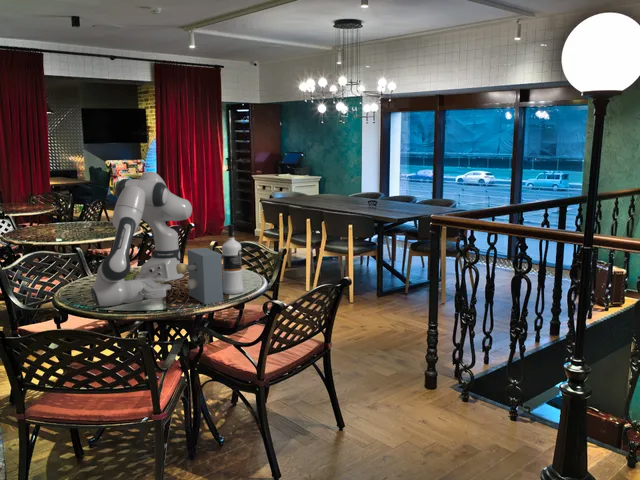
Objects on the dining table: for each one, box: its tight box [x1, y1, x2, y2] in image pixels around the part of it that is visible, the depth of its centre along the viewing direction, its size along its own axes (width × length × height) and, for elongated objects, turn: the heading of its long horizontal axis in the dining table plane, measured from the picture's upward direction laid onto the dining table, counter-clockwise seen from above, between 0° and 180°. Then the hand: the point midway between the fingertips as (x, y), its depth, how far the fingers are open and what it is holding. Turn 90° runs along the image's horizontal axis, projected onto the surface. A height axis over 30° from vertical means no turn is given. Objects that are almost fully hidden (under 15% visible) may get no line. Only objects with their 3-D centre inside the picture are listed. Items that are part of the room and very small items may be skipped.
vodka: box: [221, 224, 245, 296], centre depth 254 cm, size 9×9×30 cm
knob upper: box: [176, 263, 197, 274], centre depth 242 cm, size 14×4×4 cm, turn 122°
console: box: [186, 247, 224, 305], centre depth 245 cm, size 8×18×20 cm, turn 32°
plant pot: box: [124, 271, 136, 281], centre depth 256 cm, size 9×9×9 cm
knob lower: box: [187, 278, 198, 290], centre depth 245 cm, size 14×4×4 cm, turn 122°
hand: (170, 286), depth 237 cm, fingers closed
